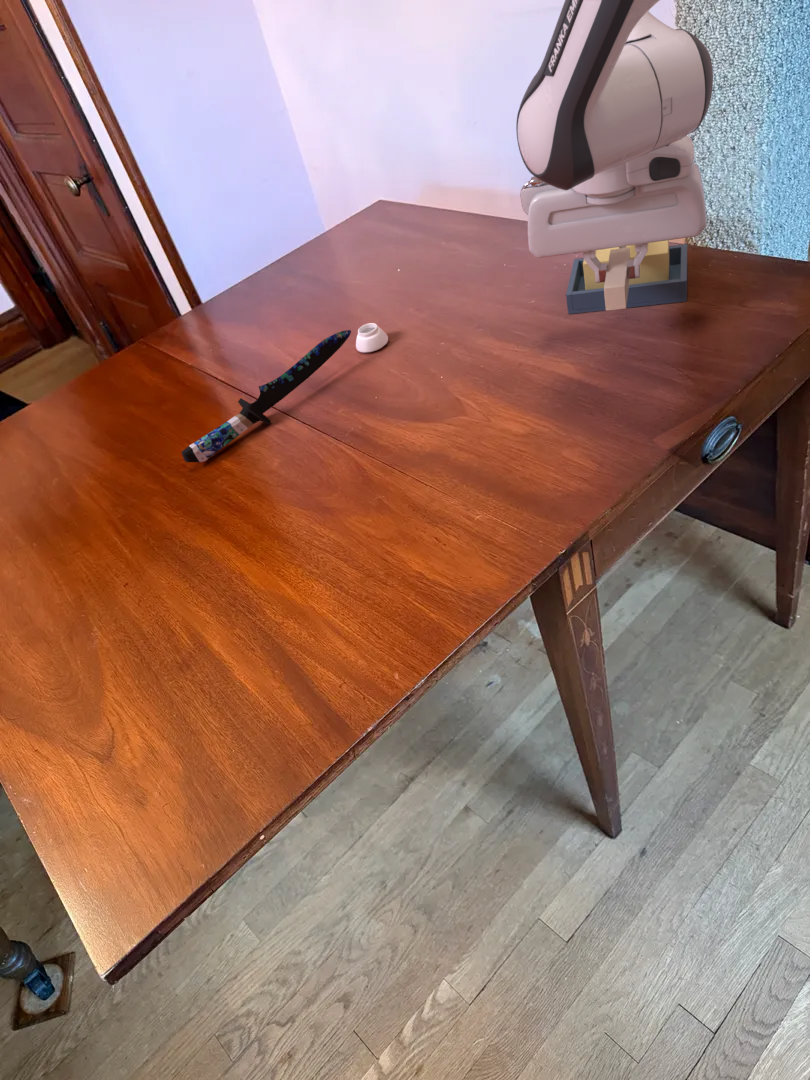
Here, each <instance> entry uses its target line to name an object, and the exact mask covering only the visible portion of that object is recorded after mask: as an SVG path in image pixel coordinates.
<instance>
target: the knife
mask: <svg viewBox="0 0 810 1080" xmlns="http://www.w3.org/2000/svg"><path fill="white" fill-rule="evenodd" d="M351 335H352V330H351V329H348V330H347V329H346V330H341V331H339V332H335V333H334V334H332V335H329V336H328V337H326V338H324V339H323V340H322V341H320V342H319V343H317V344H316V345H315V346H314V347H313V348H311V350H309V351H308V352H307V353H306V354H305V355H303V357H301V358H300V359H299V360H298V361H297V362H295V364H293V365H292V366H291V367H290V368H288V369H287V370H286V371H284V373H282V374H281V375H280V376H278V377H276V378H275V379H272V380H271V381H269V382H267V383H264V384H262V385H259V386H258V390H259V396H258V398H257V399H256V400H255V401H253V402H248V401H247V400H245V399H243V398H242V397H240V398H239V399H238V401H237V403H238V405H240V406H241V408H242V409H240V411H239V412H238V414H236V415H234V416H233V417H231V418H230V419H228V420H227V421H225V422H224V423H222V424H221V425H219V426H218V427H216V428H215V429H213V430H211V431H210V432H208V433H207V434H205V435H203V436H202V437H200V438H199V439H197V440H196V441H194V442H193V443H191V444H189V445H188V446H187V447H186V448H185V449H182V451H181V452H180V454H181V456H182V458H183V460H184V462H186V463H204V462H207V461H208V460H209V459H210V458H212V457H213V456H214V455H216V454H217V453H218V452H219V451H221V450H222V449H224V448H225V447H226V446H227V445H228V444H229V443H231V442H232V441H234V440H235V439H236V438H238V437H239V436H240V435H242V434H243V433H244V432H246V431H247V430H248V429H249V428H251V427H252V426H253V425H254V424H256V423H258V422H262V423H264V424H268V425H270V424H271V423H272V420H271V419H270V418H269V417H267V416H266V415H265V413H267V411H269V410H270V409H271V408H273V407H274V406H275V405H276V404H278V403H279V402H281V401H282V400H283V399H285V398H286V397H287V396H288V395H289V394H290V393H291V392H293V391H294V390H295V389H298V387H299V386H300V385H302V384H303V383H304V382H305V381H306V380H308V379H309V378H310V377H311V376H312V375H313V374H314V373H316V372H317V371H318V370H319V369H320V368H321V367H322V366H323V365H324V364H325V363H326V362H327V361H328V360H329V359H331V357H333V356H334V355H335V353H336V352H338V350H340V348H341V347H343V345H344V344H345V342H346V341H347V340H348V339H349V337H351Z"/></svg>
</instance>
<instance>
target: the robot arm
mask: <svg viewBox="0 0 810 1080" xmlns="http://www.w3.org/2000/svg"><path fill="white" fill-rule="evenodd" d="M660 1H661V0H564V2H563V5H562V8H561V11H560V13H559V16H558V19H557V21H556V24H555V26H554V30H553V33H552V36H551V38H550V41H549V44H548V46H547V50H546V52H545V55H544V57H543V60H542V62H541V64H540V67H539V69H538V70H537V72H536V73H535V75H534V76H533V77H532V79H531V81H530V83H529V84H528V87H527V88H526V90H525V93H524V95H523V97H522V99H521V102H520V104H519V108H518V110H517V115H516V123H515V124H516V126H515V128H516V129H515V131H516V141H517V146H518V151H519V154H520V157H521V159H522V162H523V164H524V166H525V168H526V169H527V171H528V172H529V173H530V174H531V175H532V177H530V180H528V181H526V182H525V183H524V184H523V186H522V187H521V189H520V192H519V193H520V194H519V197H520V204H521V208H522V211H523V212H524V214H526V216H527V241H528V243H527V244H528V251H529V253H531V254H532V256H534V257H535V258H537V259H543V258H549V257H556V256H563V255H573V254H578V253H583V254H582V255H583V258H584V260H585V261H586V263H587V264H588V265H589V266H590V267H591V269H592V270H593V271H595V281H596V283H601V282H605V279H606V273H607V268H608V263H600V261H599V260H598V258H597V257H596V251H597V250H601V249H608V248H615V247H622V246H630V245H635V252H637V254H636V256H635V258H634V259H632V260H627V266H626V269H627V279H633V278H640V264H641V262H642V260H643V259H644V257H645V255H646V253H647V251H648V243H651V242H659V241H666V240H669V241H673V240H681V239H688V238H694V237H699V236H700V235H701V234H702V232H704V230H705V228H706V227H707V209H706V197H705V189H704V183H703V177H702V173H701V170H700V168H699V166H697V164H696V163H695V161H694V160H695V147H694V143H693V140H692V138H691V137H690V136H689V135H690V134H693V133H695V132H696V131H697V129H698V128H699V127H700V126H701V124H702V123H703V121H704V119H705V117H706V116H707V112H708V110H709V108H710V104H711V99H712V96H713V87H714V70H713V68H714V67H713V63H712V57H711V55H710V52H709V50H708V48H707V47H706V46H705V44H704V43H703V42H702V41H701V40H700V38H698V37H697V36H696V35H694V33H692V32H690V31H688V30H686V29H683V28H673V27H671V26H669V25H667V24H666V23H664V22H663V21H662V20H660V19H658V17H656V16H654V14H652V13H651V12H650V10H651V9H652V8H653V7H654V6H656V4H658V3H659V2H660Z"/></svg>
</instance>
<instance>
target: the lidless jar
mask: <svg viewBox="0 0 810 1080" xmlns="http://www.w3.org/2000/svg"><path fill="white" fill-rule="evenodd" d="M388 341H389V336H388V334H387V333H386V332H385V331H384V330H383V329H382V328H381V327H379V326H378V324H377V323H375V322H369V323H368V322H367V323H365V324H363V325H361V326H360V327H358V329H357V335H356V340H355V348H356V350H357V351H358V352H360V353H372V352H375V351H378V350H380V349H382V348H383V347H385V345H387V344H388Z"/></svg>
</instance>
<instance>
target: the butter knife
mask: <svg viewBox="0 0 810 1080" xmlns="http://www.w3.org/2000/svg"><path fill="white" fill-rule="evenodd" d="M627 260H631V258H630V247H628V248H626V246H622V247H619V249H613V250H610V255H609V261H608V268H607V273H606V279H605V285H604V295H605V306H606V310H605V311H607V312H609V311H617V310H626V309H627V308H626V306H627V298H628V291H629V283H630V279H627V269H626V266H627Z"/></svg>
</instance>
